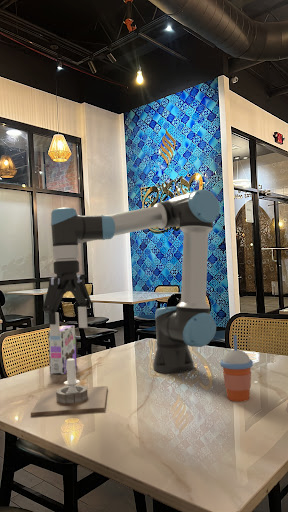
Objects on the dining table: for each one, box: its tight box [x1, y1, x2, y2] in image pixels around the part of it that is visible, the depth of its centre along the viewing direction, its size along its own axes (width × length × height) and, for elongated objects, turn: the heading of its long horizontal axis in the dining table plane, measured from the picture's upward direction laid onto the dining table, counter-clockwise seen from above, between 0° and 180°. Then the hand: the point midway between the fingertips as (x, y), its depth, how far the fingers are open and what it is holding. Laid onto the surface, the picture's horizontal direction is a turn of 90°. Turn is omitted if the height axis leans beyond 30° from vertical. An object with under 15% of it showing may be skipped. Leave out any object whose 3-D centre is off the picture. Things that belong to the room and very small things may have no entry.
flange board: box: [30, 384, 108, 417], centre depth 123 cm, size 20×20×4 cm
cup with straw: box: [220, 334, 254, 403], centre depth 119 cm, size 9×9×18 cm
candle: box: [63, 358, 81, 393], centre depth 123 cm, size 5×5×12 cm
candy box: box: [47, 325, 78, 375], centre depth 162 cm, size 14×6×16 cm, turn 168°
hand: (69, 331), depth 123 cm, fingers open, 13 cm apart
